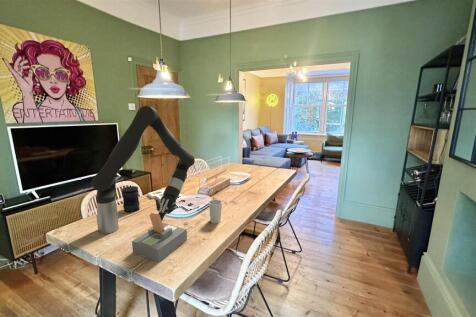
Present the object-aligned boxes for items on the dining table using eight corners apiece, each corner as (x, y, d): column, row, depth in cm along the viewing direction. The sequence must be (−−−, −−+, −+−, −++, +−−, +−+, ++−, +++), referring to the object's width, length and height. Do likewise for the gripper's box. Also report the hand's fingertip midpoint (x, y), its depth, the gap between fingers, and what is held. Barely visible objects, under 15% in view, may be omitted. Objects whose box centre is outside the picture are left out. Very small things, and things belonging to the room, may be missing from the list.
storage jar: (120, 210, 152) (118, 189, 149) (133, 205, 161) (131, 185, 158) (130, 214, 148) (128, 192, 145) (143, 208, 156) (141, 187, 153)
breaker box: (163, 232, 126) (162, 217, 124) (187, 239, 119) (186, 223, 117) (132, 252, 108) (131, 235, 106) (158, 262, 101) (157, 243, 100)
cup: (222, 217, 144) (222, 199, 142) (221, 223, 137) (221, 204, 134) (209, 217, 144) (209, 199, 142) (208, 223, 136) (208, 204, 134)
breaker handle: (158, 231, 114) (151, 212, 109) (165, 233, 112) (160, 214, 107) (155, 234, 112) (148, 215, 108) (163, 236, 110) (157, 217, 105)
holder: (200, 207, 160) (199, 204, 159) (176, 215, 148) (176, 211, 147) (169, 191, 192) (168, 188, 191) (147, 196, 180) (147, 193, 179)
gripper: (159, 183, 118) (143, 215, 110) (180, 186, 113) (165, 220, 104) (167, 189, 124) (152, 220, 116) (187, 193, 118) (173, 226, 110)
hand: (158, 220), depth 110 cm, fingers closed
